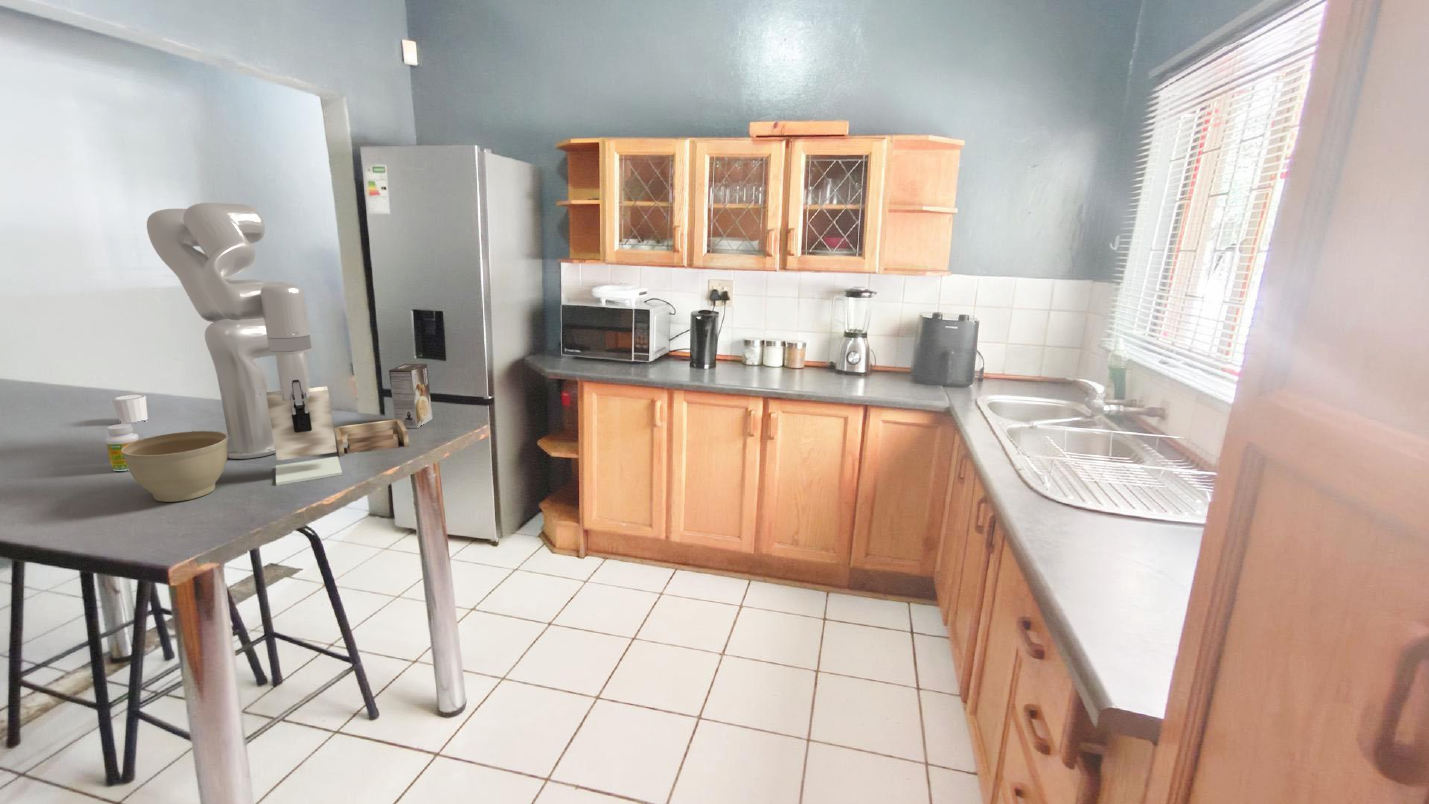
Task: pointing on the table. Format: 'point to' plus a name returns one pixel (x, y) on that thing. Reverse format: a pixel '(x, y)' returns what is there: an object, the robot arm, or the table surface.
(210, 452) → the planter bowl
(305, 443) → the birch sheet
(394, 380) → the coffee box
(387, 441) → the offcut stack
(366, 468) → the table surface
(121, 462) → the supplement bottle
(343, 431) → the pine rack
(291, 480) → the sage board
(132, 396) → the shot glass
